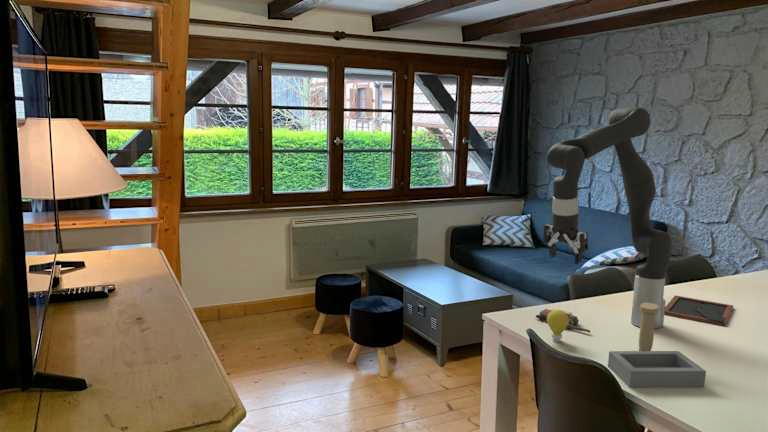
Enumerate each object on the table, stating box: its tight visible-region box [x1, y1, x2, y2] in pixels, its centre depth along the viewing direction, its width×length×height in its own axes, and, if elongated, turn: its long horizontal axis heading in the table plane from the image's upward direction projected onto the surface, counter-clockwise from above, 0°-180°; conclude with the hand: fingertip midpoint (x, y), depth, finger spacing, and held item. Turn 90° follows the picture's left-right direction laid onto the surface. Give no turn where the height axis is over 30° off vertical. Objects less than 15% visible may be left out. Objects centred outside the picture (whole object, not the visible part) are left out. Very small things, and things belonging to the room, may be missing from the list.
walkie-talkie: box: [535, 308, 591, 333], centre depth 192 cm, size 9×4×20 cm
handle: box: [638, 303, 659, 351], centre depth 167 cm, size 5×6×15 cm
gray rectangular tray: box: [607, 350, 707, 388], centre depth 153 cm, size 20×13×4 cm, turn 92°
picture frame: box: [664, 295, 734, 327], centre depth 209 cm, size 20×2×25 cm
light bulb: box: [546, 309, 569, 343], centre depth 177 cm, size 7×7×10 cm
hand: (565, 259), depth 174 cm, fingers open, 8 cm apart
